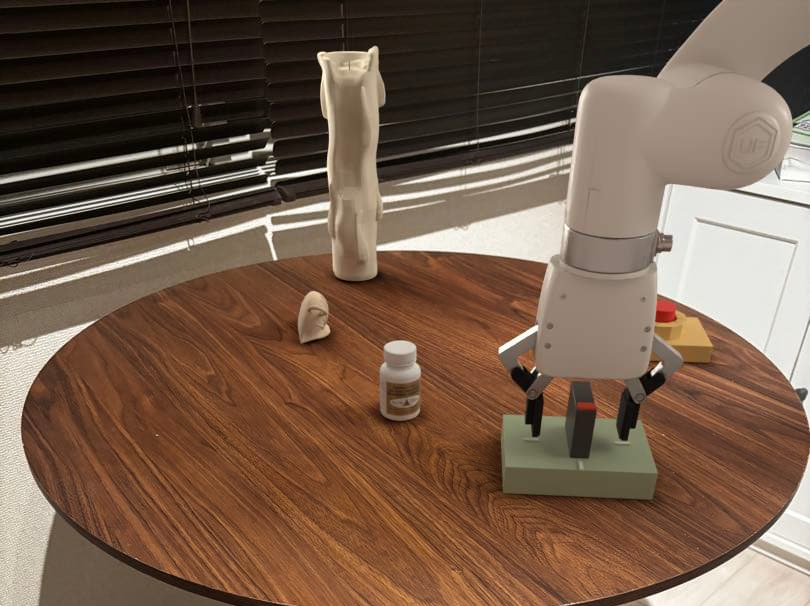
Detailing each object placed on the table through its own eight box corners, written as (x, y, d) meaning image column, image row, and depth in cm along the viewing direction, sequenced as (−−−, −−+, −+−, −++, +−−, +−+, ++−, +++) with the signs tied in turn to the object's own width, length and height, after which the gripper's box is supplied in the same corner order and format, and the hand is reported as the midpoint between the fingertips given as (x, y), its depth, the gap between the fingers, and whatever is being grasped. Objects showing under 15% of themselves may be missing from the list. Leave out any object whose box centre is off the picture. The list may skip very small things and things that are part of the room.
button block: (693, 333, 107) (700, 303, 104) (709, 363, 100) (716, 332, 97) (602, 330, 107) (606, 300, 105) (610, 359, 100) (616, 328, 98)
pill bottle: (389, 425, 87) (389, 358, 82) (374, 407, 90) (372, 342, 86) (426, 417, 89) (428, 351, 84) (410, 399, 92) (410, 335, 87)
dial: (564, 425, 81) (571, 378, 78) (582, 426, 81) (590, 379, 78) (569, 457, 76) (577, 408, 73) (589, 458, 76) (597, 409, 73)
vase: (392, 270, 125) (391, 44, 107) (371, 289, 119) (365, 52, 100) (342, 263, 127) (332, 41, 109) (318, 281, 121) (303, 48, 103)
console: (635, 444, 84) (641, 417, 82) (652, 500, 76) (658, 472, 74) (500, 439, 85) (503, 412, 83) (503, 493, 77) (505, 465, 75)
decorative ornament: (328, 321, 109) (326, 282, 106) (331, 347, 103) (329, 306, 100) (298, 322, 109) (295, 283, 106) (299, 348, 102) (296, 308, 99)
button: (671, 314, 103) (673, 300, 102) (676, 325, 100) (679, 311, 99) (642, 313, 103) (644, 299, 102) (646, 324, 100) (649, 310, 99)
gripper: (703, 236, 70) (662, 416, 81) (500, 230, 71) (487, 409, 82) (723, 266, 64) (677, 456, 75) (502, 259, 65) (487, 448, 76)
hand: (578, 431), depth 78 cm, fingers open, 7 cm apart
